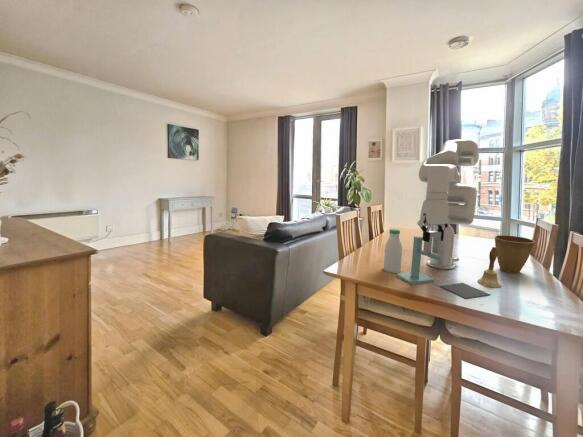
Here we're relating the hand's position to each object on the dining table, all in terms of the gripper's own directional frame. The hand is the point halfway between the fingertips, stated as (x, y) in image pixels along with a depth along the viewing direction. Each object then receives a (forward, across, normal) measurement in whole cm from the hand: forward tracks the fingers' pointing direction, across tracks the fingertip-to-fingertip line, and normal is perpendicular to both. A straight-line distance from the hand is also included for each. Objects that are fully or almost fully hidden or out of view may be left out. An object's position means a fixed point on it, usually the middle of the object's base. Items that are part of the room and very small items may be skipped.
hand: (432, 240), depth 111 cm
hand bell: (+20, -26, +6) cm, 33 cm away
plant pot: (+20, -52, -4) cm, 56 cm away
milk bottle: (+20, +4, -20) cm, 28 cm away
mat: (+19, -9, +8) cm, 23 cm away
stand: (+19, +1, -4) cm, 20 cm away
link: (+5, 0, 0) cm, 5 cm away
